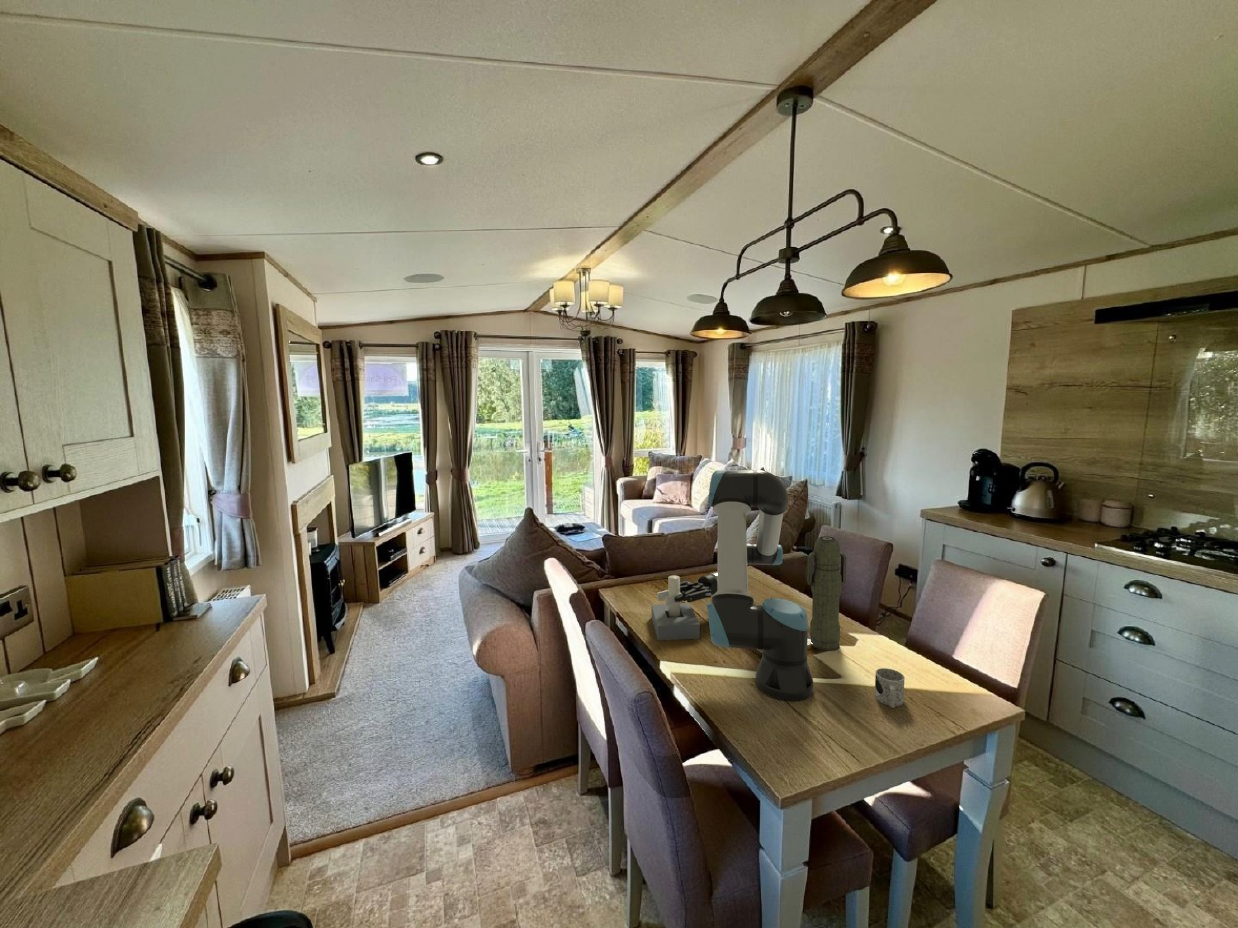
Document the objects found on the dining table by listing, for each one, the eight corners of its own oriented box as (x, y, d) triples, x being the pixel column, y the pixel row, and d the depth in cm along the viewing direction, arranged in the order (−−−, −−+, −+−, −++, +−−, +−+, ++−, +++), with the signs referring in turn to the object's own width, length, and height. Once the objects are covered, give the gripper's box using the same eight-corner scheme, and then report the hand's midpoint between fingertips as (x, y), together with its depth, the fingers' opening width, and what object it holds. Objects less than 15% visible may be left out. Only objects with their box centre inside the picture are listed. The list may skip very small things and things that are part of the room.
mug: (873, 689, 135) (874, 666, 134) (901, 694, 132) (902, 670, 132) (877, 710, 126) (878, 685, 125) (907, 716, 123) (908, 690, 122)
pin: (681, 620, 173) (680, 579, 171) (669, 621, 173) (669, 579, 171) (679, 615, 177) (678, 575, 175) (667, 616, 177) (667, 575, 175)
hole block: (699, 638, 167) (699, 624, 166) (658, 640, 166) (657, 625, 165) (689, 615, 184) (689, 602, 184) (651, 617, 184) (651, 604, 183)
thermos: (850, 648, 157) (853, 540, 153) (815, 652, 155) (818, 543, 151) (833, 636, 166) (836, 533, 162) (800, 639, 164) (802, 535, 160)
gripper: (728, 601, 177) (677, 617, 164) (696, 587, 191) (647, 601, 179) (728, 580, 176) (677, 596, 163) (696, 568, 190) (646, 581, 178)
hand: (661, 598), depth 171 cm, fingers closed on pin, 4 cm apart
